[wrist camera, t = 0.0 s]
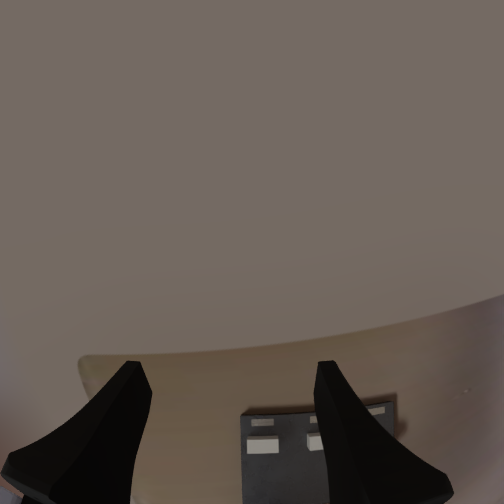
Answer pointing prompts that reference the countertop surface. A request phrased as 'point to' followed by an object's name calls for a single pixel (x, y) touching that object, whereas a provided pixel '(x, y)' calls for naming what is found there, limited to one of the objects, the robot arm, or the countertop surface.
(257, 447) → the block
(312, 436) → the block
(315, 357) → the countertop surface
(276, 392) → the countertop surface
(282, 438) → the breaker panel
